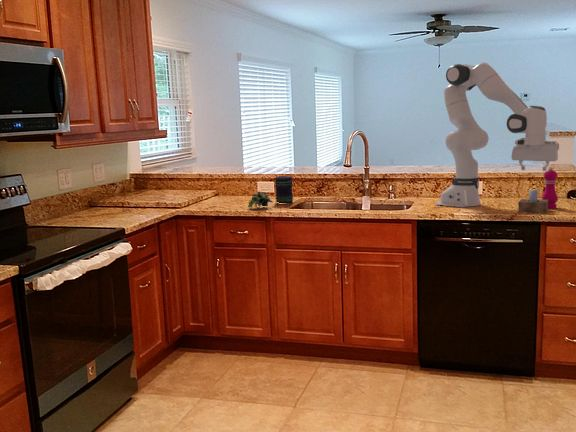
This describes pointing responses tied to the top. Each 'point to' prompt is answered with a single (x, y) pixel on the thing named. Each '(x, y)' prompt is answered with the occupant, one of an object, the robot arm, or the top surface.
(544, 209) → the socket block
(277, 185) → the storage jar
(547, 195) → the pepper mill
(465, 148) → the robot arm
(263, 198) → the potted plant
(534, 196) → the peg
